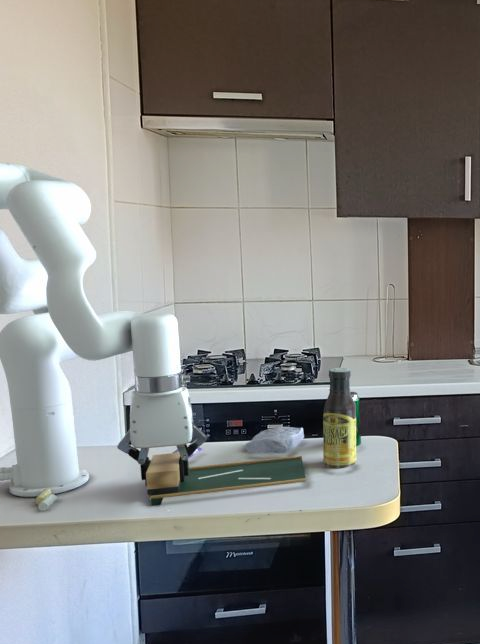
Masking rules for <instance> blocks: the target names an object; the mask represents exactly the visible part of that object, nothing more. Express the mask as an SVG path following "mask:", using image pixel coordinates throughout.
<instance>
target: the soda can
mask: <svg viewBox="0 0 480 644" xmlns="http://www.w3.org/2000/svg"><path fill="white" fill-rule="evenodd" d="M350 394H351V397H352V398H353V400H354V402H355V405H356V447H359V446H360V445H361V444H362V427H361V426H362V425H361V403H360V402H361V401H360V396H359V395H358V392H357V391H350Z"/></svg>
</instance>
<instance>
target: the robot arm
mask: <svg viewBox="0 0 480 644" xmlns="http://www.w3.org/2000/svg"><path fill="white" fill-rule="evenodd" d="M0 210H8V211H9V213H10V215H11V216H12V218H13V221H14V222H15V223H16V225H17V227H18V228H19V229H20V232H21V234H23V236H24V238H25V240H26V242H28V244H29V246H30V247H31V249H32V250H33V252H34V255H36V257H37V258H24V259H23V258H21V257H20V255H19V254H18V253H17V251H16V250H15V248H14V246H13V245H12V243H11V241H10V239H9V237H8V235H7V234H6V233H5V231H4V230H3V229H2V228H1V227H0V315H12V314H18V313H23V312H24V313H25V312H30V311H32V312H33V314H31V315H27V316H22V317H19V318H16V319H14V320H12V321H10V322H9V323H7V324H6V325H5V326H4V327H3V328H2V329H1V330H0V362H1V365H2V368H3V371H4V374H5V378H6V383H7V389H8V395H9V396H8V397H9V404H10V410H11V421H12V429H13V439H14V448H15V456H16V464H12V465H11V466H10V467H9V466H8V467H0V482H1V481H2V482H3V481H10V484H9V486H8V487H9V492H10V494H11V495H14V496H17V497H23V498H25V497H26V498H34V497H35V498H37V497H38V496H39V494H40V493H41V492H42V491H43V490H44V489H49V490H51V494H54V495H56V494H61V493H66V492H69V491H73V490H74V489H77V488H80V487H81V486H83V485H84V484H86V483H87V482H88V481H89V479H90V474H89V471H88V470H86V469H84V468H80V467H79V457H78V447H77V436H76V427H75V417H74V407H73V398H72V389H71V385H70V382H69V380H68V378H67V376H66V374H65V373H64V370H63V369H62V368H61V365H60V364H61V363H65V362H68V361H72V360H74V359H78V358H81V359H83V360H86V361H92V362H93V361H94V362H95V361H101V360H105V359H108V358H111V357H114V356H118V355H122V354H126V353H130V352H132V359H133V360H132V361H133V371H134V372H133V373H134V387H135V390H133V391H132V392H131V397H130V406H129V408H130V409H129V429H128V431H127V432H126V433H125V434H124V436H123V437H122V439H121V440H120V441H119V442H118V444H117V445H116V447H117V450H119V451H120V452H123V453H125V454H127V455H128V456H129V457H130V458H132V459H133V460H135V461H136V462H137V464H138V465H140V477H141V481H144V483H145V487H147V483H146V472H147V469H148V467H149V464H150V462H151V459H150V458H149V451H150V449H154V448H165V447H176V448H177V449H178V451H179V454H180V459H179V472H180V482H184V481H185V476H188V475H189V467H190V466H189V459H190V458H191V457H190V456H191V455H192V454H193V452H194V451H195V450H196V449H197V448H198V447H200V448H201V446H202V445H203V444H205V442H207V439H208V435H206V434H205V433H204V432H203V431H202V430H201V428H199V427H198V426H197V425H196V424H195V423H194V418H193V417H194V416H193V410H192V409H193V408H192V403H191V398H190V394H189V390H188V388H187V387H186V386H184V384H186V383H191V375H190V374H185V373H183V371H182V367H181V366H182V365H181V352H180V350H181V349H180V335H179V324H178V323H179V322H178V319H177V317H176V316H175V315H174V314H171V313H167V312H151V313H150V312H149V313H144V312H139V311H133V310H116V311H111V312H105V313H101V314H97V313H96V312H95V310H94V308H93V307H92V306H91V303H90V302H89V301H88V298H87V296H86V294H85V291H84V286H83V285H84V284H83V281H84V275H85V272H86V271H87V269H88V268H89V267H91V266H92V265H93V263H95V261H96V260H97V251H96V249H95V248H94V246H93V244H92V243H91V241H90V239H89V237H88V236H87V235H86V233H85V232H84V230H83V228H82V226H83V225H84V224H85V223H86V222H88V220H89V218H90V216H91V214H92V213H91V212H92V204H91V200H90V198H89V196H88V195H87V193H86V192H85V191H84V190H83V188H82V187H80V185H79V186H78V185H77V184H76V183H73V182H71V181H70V180H67V179H64V178H61V177H57V176H55V175H51V174H49V173H47V172H43V171H41V170H37V169H34V168H32V167H28V166H26V165H23V164H18V163H10V162H1V161H0ZM193 436H194V437H195V438H196V439H195V440H194V441H192V439H193ZM189 443H190V444H189ZM187 444H189V445H187ZM139 449H140V450H139ZM177 449H176V450H177ZM189 457H190V458H189ZM188 458H189V459H188Z"/></svg>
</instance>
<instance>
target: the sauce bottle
mask: <svg viewBox="0 0 480 644" xmlns="http://www.w3.org/2000/svg"><path fill="white" fill-rule="evenodd" d="M351 375H352V374H351V368H348V367H333V368H330V369H329V370H328V378H329V389H328V390H329V393H328V396H327V398H326V401H325V403H324V408H323V415H322V416H323V417H322V421H323V423H322V425H323V429H322V431H323V432H322V438H323V441H322V442H323V443H322V444H323V445H322V446H323V447H322V449H323V450H322V451H323V454H322V456H323V457H322V458H323V462H324V463H323V465H324V467H326V468H330V469H345V468H348V467H351V466H354V465H355V464H356V461H357V446H356V405H355V402H354V400H353V398H352V397H351V394H350V392H351V387H350V385H351V383H350V382H351V381H350V378H351Z"/></svg>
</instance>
